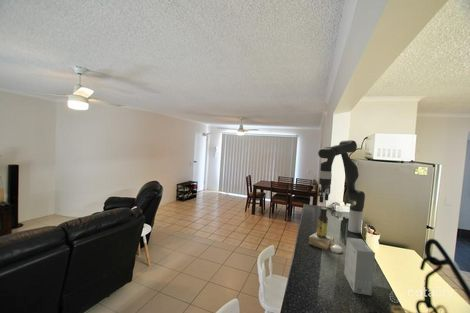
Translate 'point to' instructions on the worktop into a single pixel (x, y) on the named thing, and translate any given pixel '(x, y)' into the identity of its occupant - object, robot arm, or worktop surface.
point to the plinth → (321, 241)
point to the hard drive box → (359, 266)
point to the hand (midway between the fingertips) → (323, 201)
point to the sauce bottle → (322, 223)
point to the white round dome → (335, 248)
